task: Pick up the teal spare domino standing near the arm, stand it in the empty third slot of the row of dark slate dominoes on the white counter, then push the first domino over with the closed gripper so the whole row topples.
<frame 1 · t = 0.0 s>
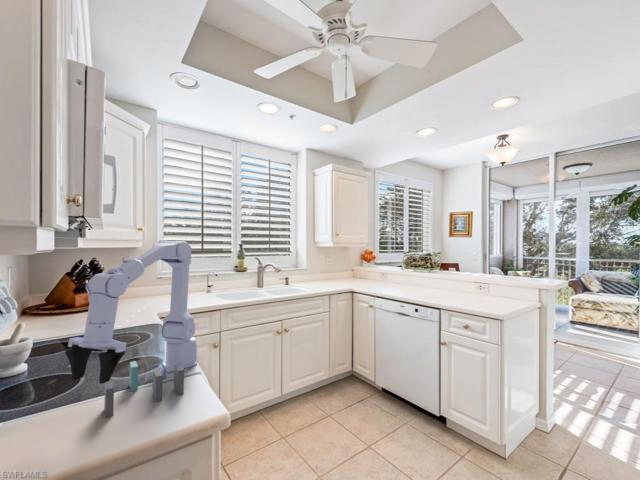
hand: (91, 380, 69), 10 cm above the table, tool pointing down, fingers open, 7 cm apart
spare domino: (133, 387, 85), on the table
domino 4: (108, 412, 73), on the table
domino 1: (178, 391, 84), on the table
domino 2: (157, 397, 80), on the table
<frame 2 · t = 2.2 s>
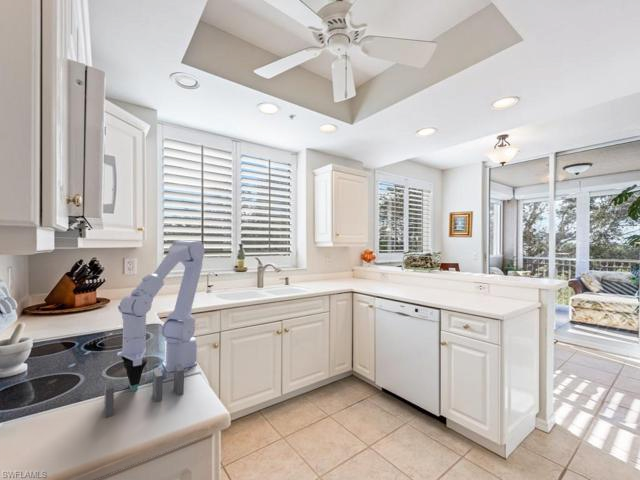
hand: (133, 380, 85), 2 cm above the table, tool pointing down, fingers closed on spare domino, 4 cm apart
spare domino: (133, 387, 85), on the table, touching gripper
everything else where it was.
when the fingers open (2 cm above the table, at t = 5.7 s): spare domino stays where it is, on the table.
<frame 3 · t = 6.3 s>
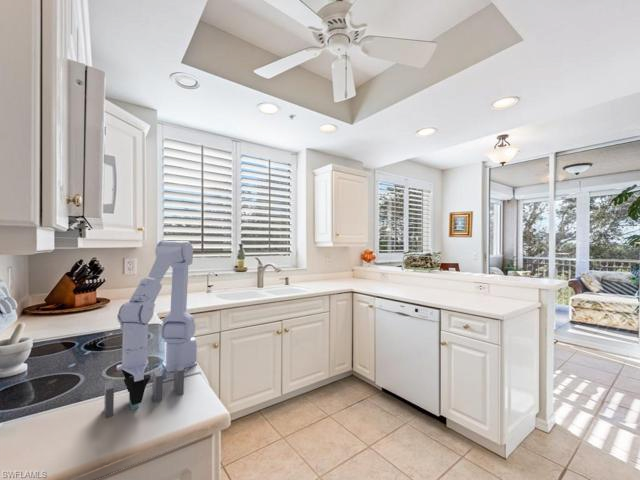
hand: (134, 396, 76), 2 cm above the table, tool pointing down, fingers open, 7 cm apart
spare domino: (133, 404, 76), on the table
everything else where it was.
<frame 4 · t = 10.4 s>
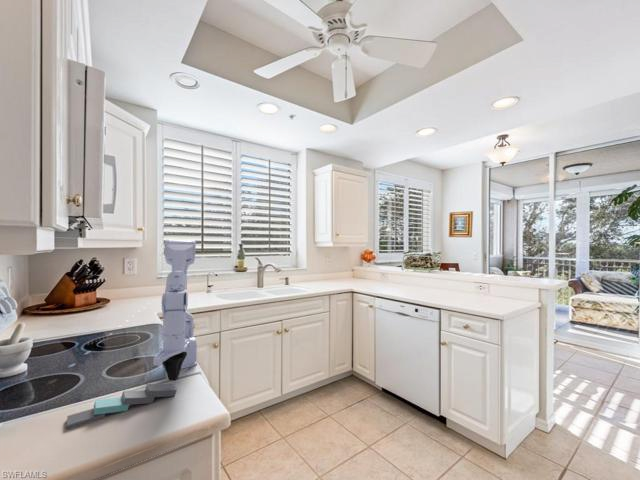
hand: (173, 379, 82), 4 cm above the table, tool pointing down, fingers closed
spare domino: (127, 403, 76), point 1 cm above the table, tilted 78°, touching domino 2
domino 4: (103, 412, 72), on the table, tilted 90°
domino 1: (173, 389, 83), point 1 cm above the table, tilted 73°, touching domino 2
domino 2: (152, 396, 79), point 1 cm above the table, tilted 73°, touching domino 1, spare domino
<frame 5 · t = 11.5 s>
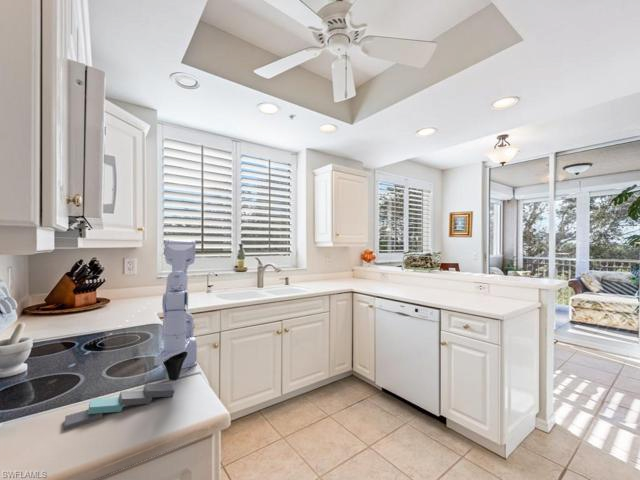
hand: (173, 379, 83), 4 cm above the table, tool pointing down, fingers closed
spare domino: (122, 404, 75), point 1 cm above the table, tilted 77°, touching domino 2
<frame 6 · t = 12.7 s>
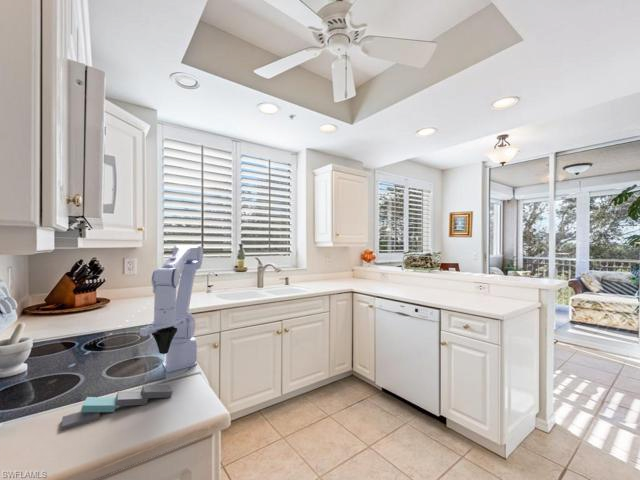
hand: (163, 352, 86), 10 cm above the table, tool pointing down, fingers closed
spare domino: (116, 404, 75), point 1 cm above the table, tilted 76°, touching domino 2, domino 4
domino 4: (99, 413, 72), on the table, tilted 90°, touching spare domino
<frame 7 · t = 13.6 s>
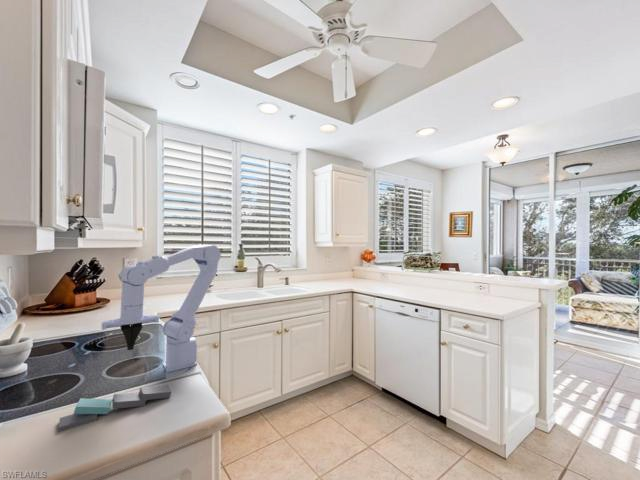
hand: (130, 348, 87), 10 cm above the table, tool pointing down, fingers closed
spare domino: (110, 406, 74), point 1 cm above the table, tilted 74°, touching domino 2, domino 4
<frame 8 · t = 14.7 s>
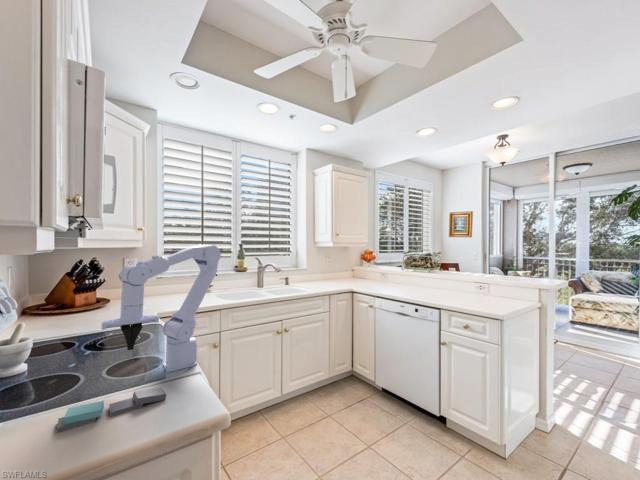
hand: (130, 348, 87), 10 cm above the table, tool pointing down, fingers closed
spare domino: (102, 408, 72), point 2 cm above the table, tilted 90°, touching domino 4
domino 1: (163, 393, 81), point 1 cm above the table, tilted 79°
domino 2: (141, 401, 77), on the table, tilted 90°
at the end: domino 4 tilted 90°; spare domino tilted 90°; spare domino inside the target area (4.3 cm from its centre), point 1.8 cm above the table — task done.
